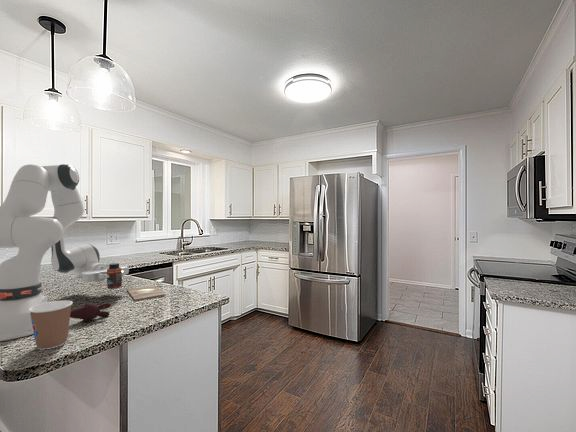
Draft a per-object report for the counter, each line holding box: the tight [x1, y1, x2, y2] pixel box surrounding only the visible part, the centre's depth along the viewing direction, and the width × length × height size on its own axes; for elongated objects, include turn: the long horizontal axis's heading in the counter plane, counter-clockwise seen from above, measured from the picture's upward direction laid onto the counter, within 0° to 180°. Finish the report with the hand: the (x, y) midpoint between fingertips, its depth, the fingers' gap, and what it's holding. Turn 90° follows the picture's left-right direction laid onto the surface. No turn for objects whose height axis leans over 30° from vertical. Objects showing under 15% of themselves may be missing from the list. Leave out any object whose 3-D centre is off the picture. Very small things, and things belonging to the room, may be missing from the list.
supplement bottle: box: [106, 262, 123, 290], centre depth 133 cm, size 6×6×11 cm
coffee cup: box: [29, 299, 74, 351], centre depth 86 cm, size 10×10×12 cm
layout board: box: [126, 284, 166, 302], centre depth 141 cm, size 22×13×1 cm, turn 38°
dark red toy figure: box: [70, 302, 112, 323], centre depth 105 cm, size 7×7×15 cm
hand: (115, 274), depth 132 cm, fingers closed on supplement bottle, 6 cm apart
